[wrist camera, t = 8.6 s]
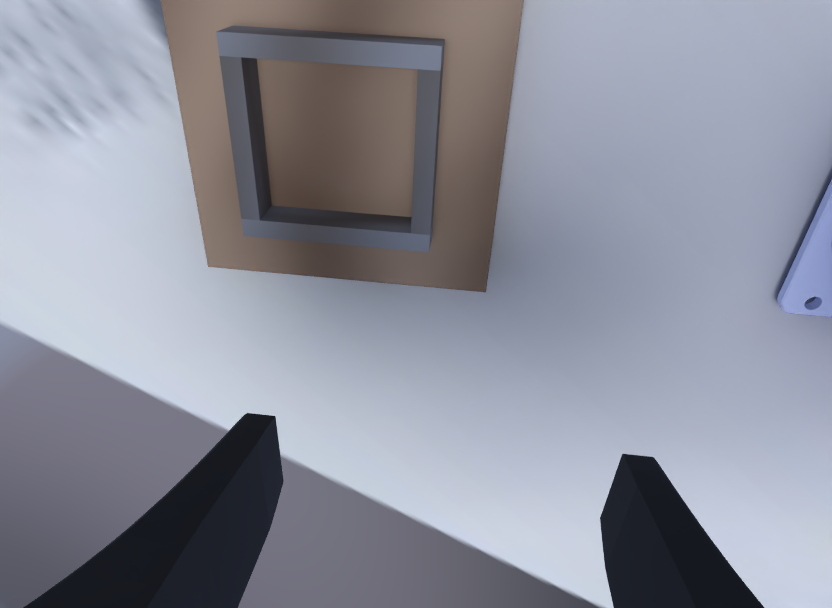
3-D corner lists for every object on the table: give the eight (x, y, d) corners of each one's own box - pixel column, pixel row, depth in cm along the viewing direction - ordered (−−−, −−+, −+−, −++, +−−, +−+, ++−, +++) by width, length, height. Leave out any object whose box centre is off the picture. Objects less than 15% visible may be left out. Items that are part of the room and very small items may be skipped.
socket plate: (526, -44, 15) (531, -41, 14) (485, 277, 21) (485, 310, 19) (167, -63, 16) (125, -62, 14) (218, 253, 21) (193, 283, 20)
